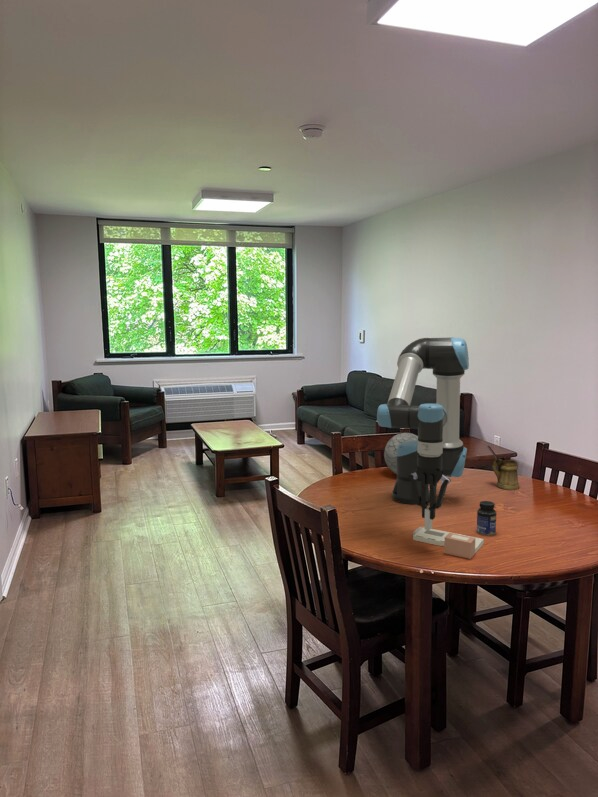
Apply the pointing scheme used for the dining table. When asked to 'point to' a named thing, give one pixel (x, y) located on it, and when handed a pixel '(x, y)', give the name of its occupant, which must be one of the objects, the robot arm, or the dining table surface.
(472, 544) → the stub
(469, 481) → the dining table surface
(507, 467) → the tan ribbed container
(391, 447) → the decorative sphere
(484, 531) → the pill bottle
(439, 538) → the white grooved bar
